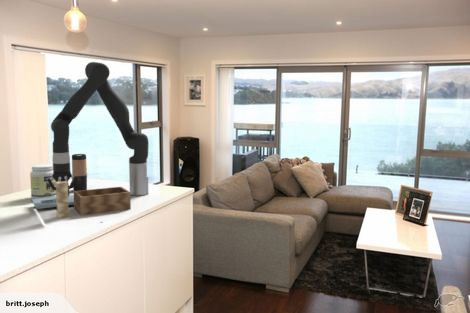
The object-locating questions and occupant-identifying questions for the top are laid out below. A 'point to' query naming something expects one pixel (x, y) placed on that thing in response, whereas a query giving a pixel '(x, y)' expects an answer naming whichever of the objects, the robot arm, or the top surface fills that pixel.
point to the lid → (50, 202)
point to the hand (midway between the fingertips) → (62, 197)
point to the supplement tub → (42, 181)
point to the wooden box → (101, 200)
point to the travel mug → (79, 171)
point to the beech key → (62, 199)
